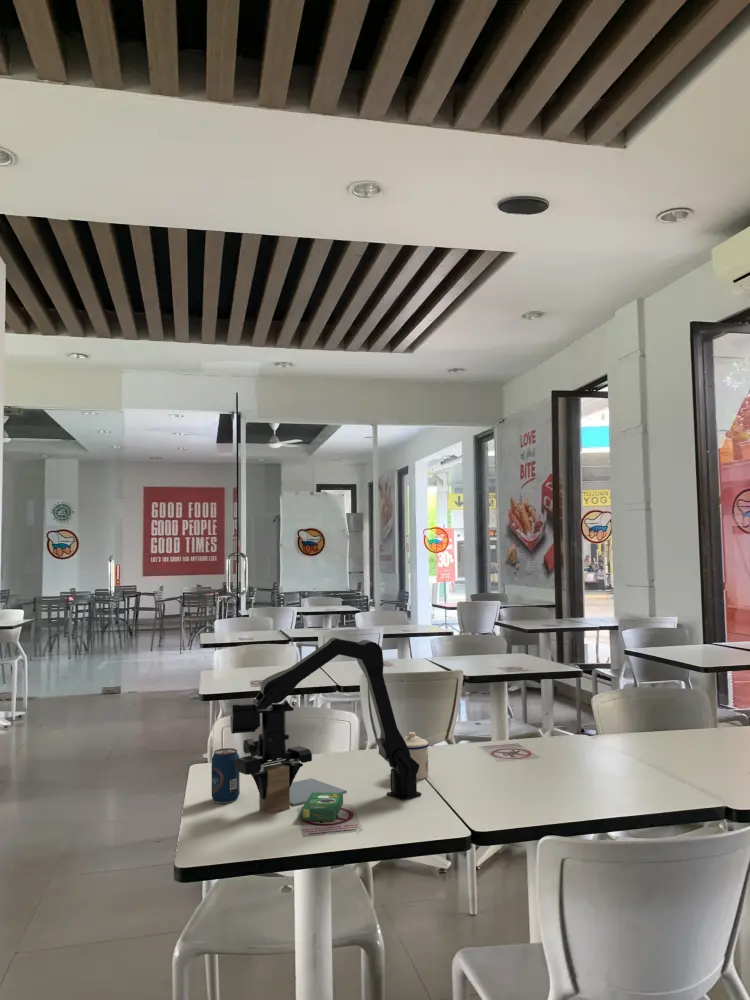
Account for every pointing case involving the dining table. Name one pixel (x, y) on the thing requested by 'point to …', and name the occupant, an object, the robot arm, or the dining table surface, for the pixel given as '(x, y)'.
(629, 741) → the dining table surface
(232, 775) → the soda can
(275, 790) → the brown wooden block
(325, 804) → the coffee box
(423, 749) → the teacup with lid
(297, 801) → the slate mat
